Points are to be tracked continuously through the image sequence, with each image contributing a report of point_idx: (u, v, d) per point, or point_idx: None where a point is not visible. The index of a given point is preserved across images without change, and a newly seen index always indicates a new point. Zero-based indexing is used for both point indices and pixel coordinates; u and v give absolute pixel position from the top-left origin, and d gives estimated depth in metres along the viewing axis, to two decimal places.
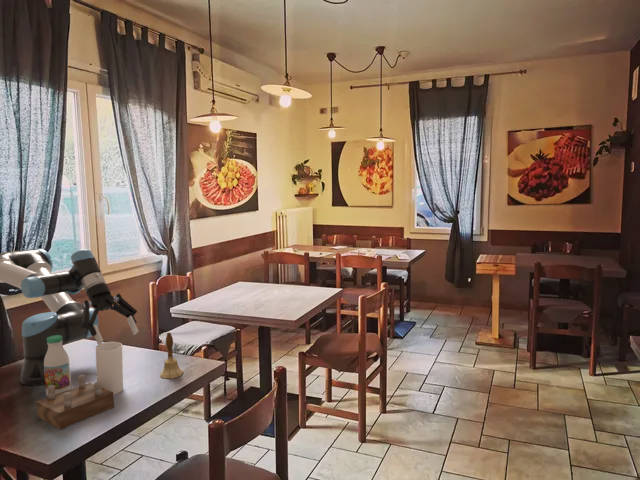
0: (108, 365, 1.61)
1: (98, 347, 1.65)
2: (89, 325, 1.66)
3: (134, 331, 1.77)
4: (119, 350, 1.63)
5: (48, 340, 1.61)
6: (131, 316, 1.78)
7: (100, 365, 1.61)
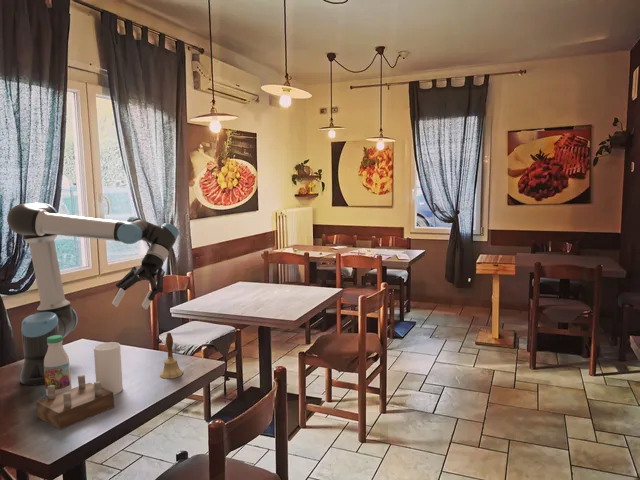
0: (107, 364, 1.62)
1: (96, 348, 1.65)
2: (157, 292, 1.75)
3: (116, 303, 1.77)
4: (118, 349, 1.64)
5: (48, 340, 1.61)
6: None
7: (99, 365, 1.62)
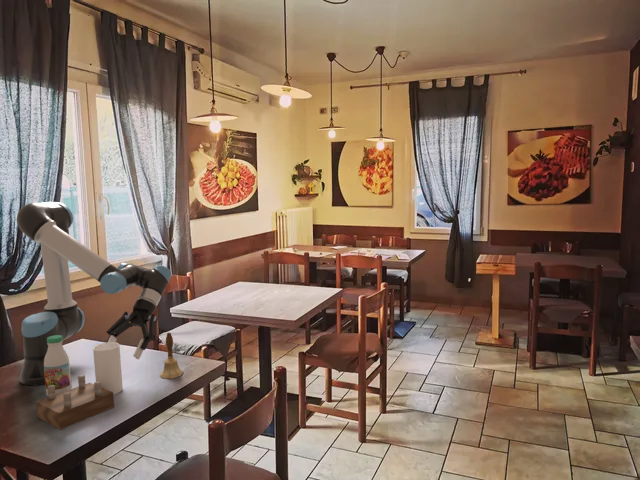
0: (107, 364, 1.62)
1: (95, 348, 1.65)
2: (149, 340, 1.71)
3: None
4: (117, 349, 1.64)
5: (48, 340, 1.61)
6: None
7: (99, 365, 1.62)
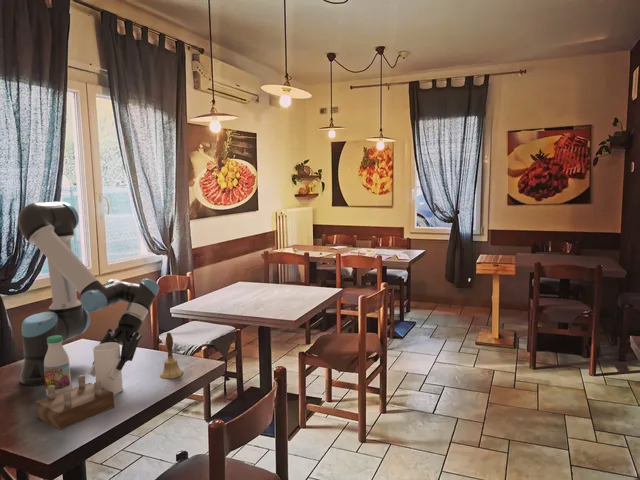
0: (107, 364, 1.62)
1: (95, 348, 1.65)
2: (126, 361, 1.65)
3: (93, 373, 1.65)
4: (117, 349, 1.64)
5: (48, 340, 1.61)
6: None
7: (99, 365, 1.62)
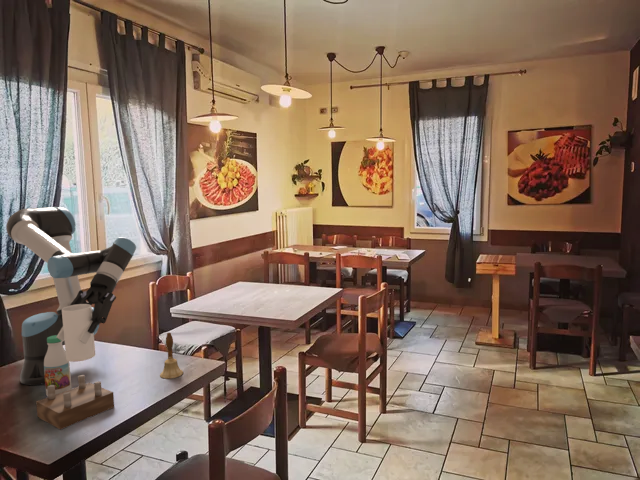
0: (77, 326, 1.47)
1: (64, 310, 1.50)
2: (98, 323, 1.50)
3: (62, 337, 1.50)
4: (88, 310, 1.49)
5: (48, 340, 1.61)
6: None
7: (68, 328, 1.46)
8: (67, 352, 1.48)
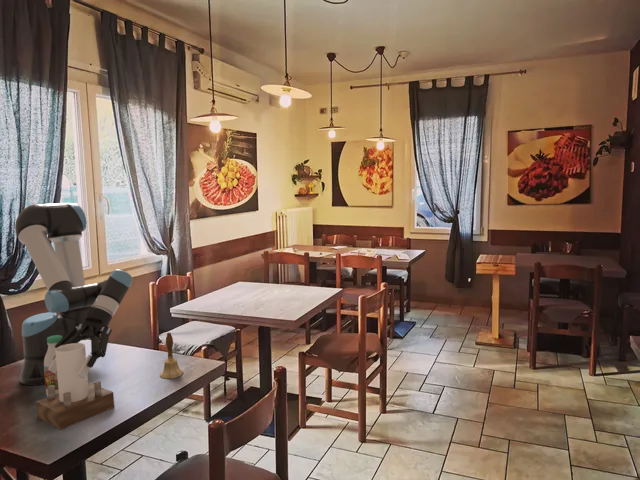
0: (70, 368, 1.46)
1: (58, 349, 1.49)
2: (98, 357, 1.49)
3: (53, 369, 1.50)
4: (82, 351, 1.48)
5: (48, 340, 1.61)
6: None
7: (61, 368, 1.46)
8: (60, 393, 1.47)
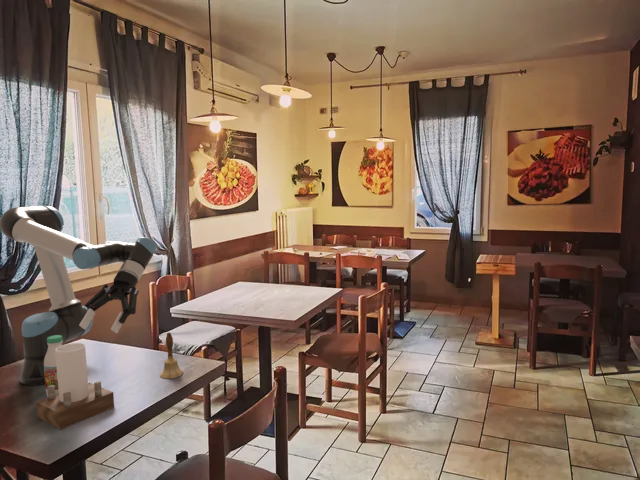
0: (70, 368, 1.46)
1: (58, 349, 1.49)
2: (129, 314, 1.60)
3: (84, 325, 1.61)
4: (82, 351, 1.48)
5: (48, 340, 1.61)
6: None
7: (61, 368, 1.46)
8: (60, 393, 1.47)
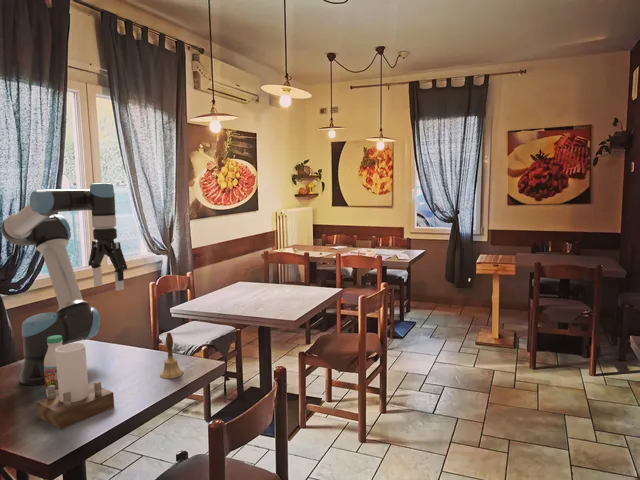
0: (70, 367, 1.46)
1: (58, 349, 1.49)
2: (123, 270, 1.65)
3: (98, 283, 1.74)
4: (82, 350, 1.48)
5: (48, 340, 1.61)
6: None
7: (61, 368, 1.46)
8: (60, 393, 1.47)
